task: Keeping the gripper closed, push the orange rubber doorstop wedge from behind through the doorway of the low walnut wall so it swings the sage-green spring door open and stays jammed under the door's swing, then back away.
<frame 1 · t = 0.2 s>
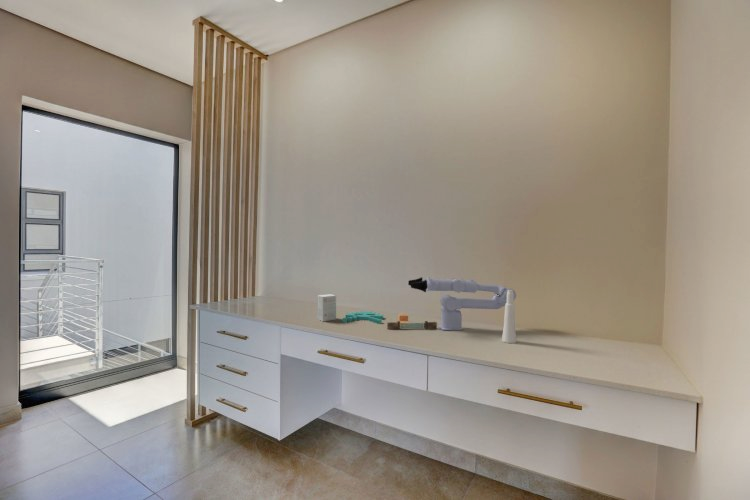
hand: (409, 284, 169), 22 cm above the table, tool horizontal, fingers open, 7 cm apart
doorstop wedge: (403, 324, 178), on the table
door frame: (413, 328, 169), on the table
cosmetic bottle: (508, 341, 151), on the table
alien figure: (364, 319, 190), on the table
door: (412, 325, 169), point 2 cm above the table, hinge at 0.0°
small box: (326, 320, 186), on the table
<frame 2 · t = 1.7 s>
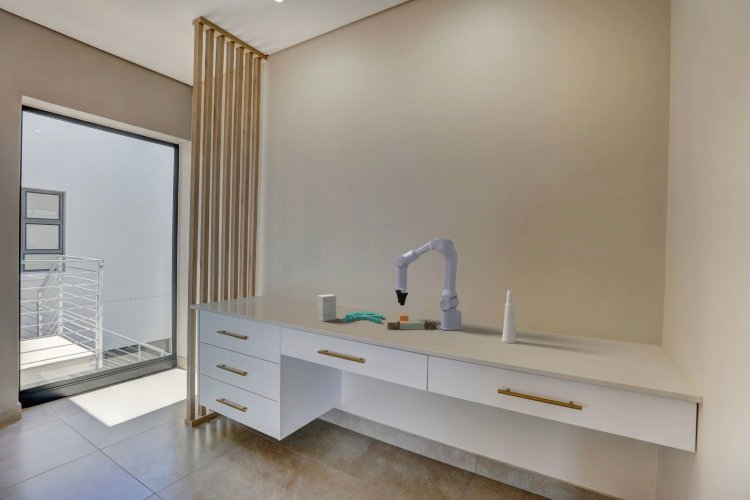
hand: (401, 304, 187), 8 cm above the table, tool pointing down, fingers open, 6 cm apart
nothing on the table moved.
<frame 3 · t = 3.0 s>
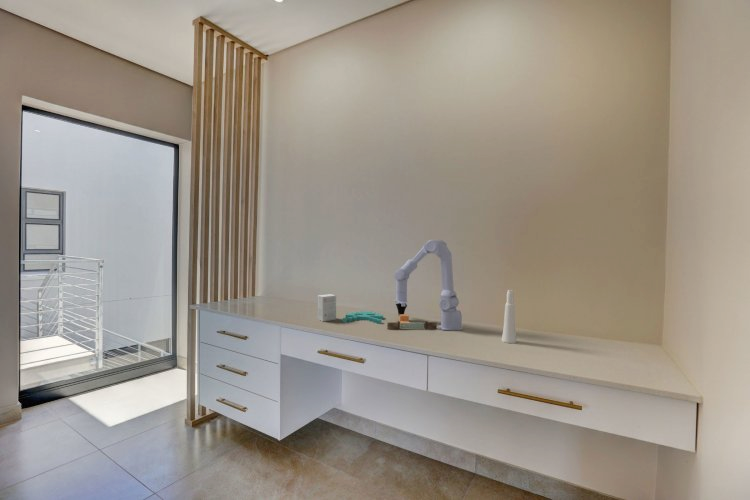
hand: (401, 317, 187), 1 cm above the table, tool pointing down, fingers closed
nothing on the table moved.
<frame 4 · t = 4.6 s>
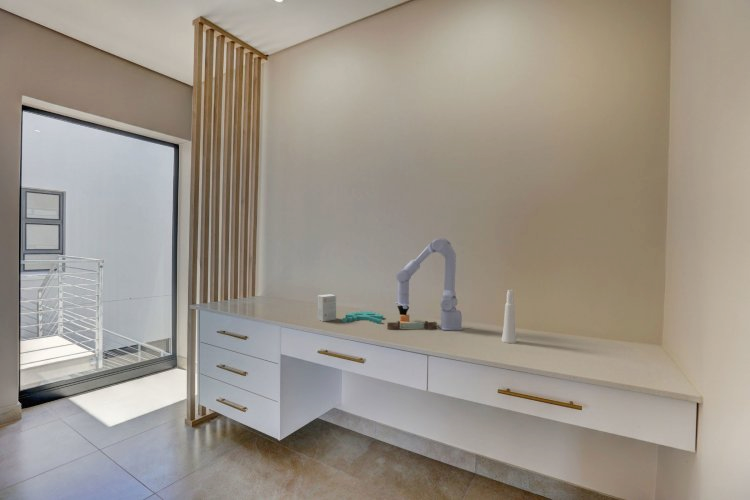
hand: (402, 319, 181), 1 cm above the table, tool pointing down, fingers closed
doorstop wedge: (404, 325, 176), on the table, touching gripper
everything else where it was.
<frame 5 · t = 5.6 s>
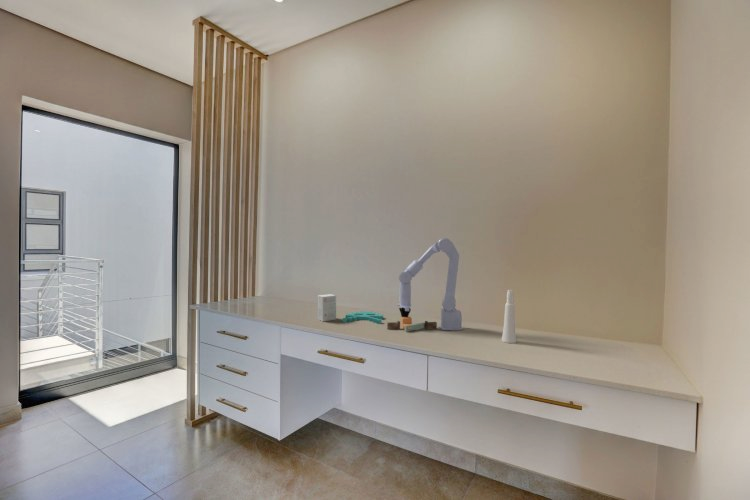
hand: (404, 322, 176), 1 cm above the table, tool pointing down, fingers closed
doorstop wedge: (407, 327, 171), on the table, touching door, gripper
door: (415, 327, 166), point 2 cm above the table, hinge at 28.4°, touching doorstop wedge
everything else where it was.
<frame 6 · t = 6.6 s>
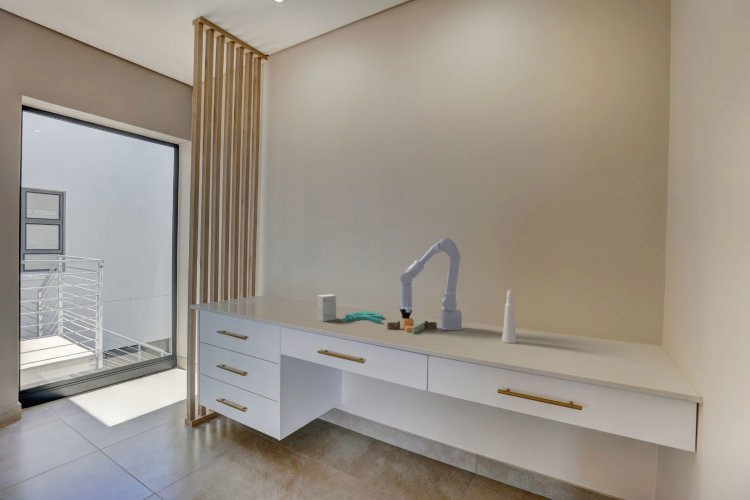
hand: (405, 324, 173), 1 cm above the table, tool pointing down, fingers closed
doorstop wedge: (409, 329, 167), on the table, touching door, gripper
door: (419, 327, 165), point 2 cm above the table, hinge at 50.3°, touching doorstop wedge
everything else where it was.
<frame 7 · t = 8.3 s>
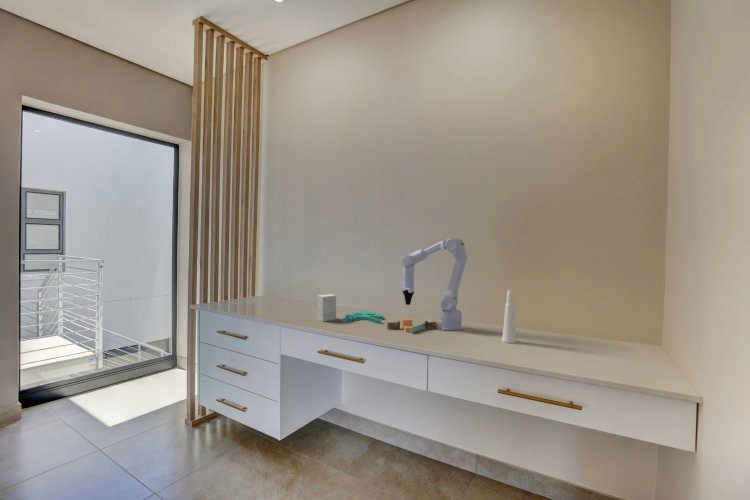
hand: (407, 304, 181), 9 cm above the table, tool pointing down, fingers closed
doorstop wedge: (408, 329, 168), on the table, touching door
door: (418, 327, 165), point 2 cm above the table, hinge at 46.8°, touching doorstop wedge
everything else where it was.
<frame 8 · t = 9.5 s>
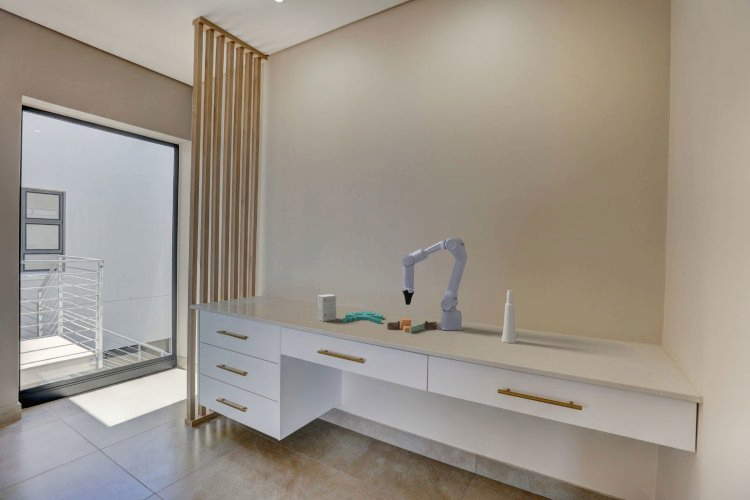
hand: (407, 304, 181), 9 cm above the table, tool pointing down, fingers closed
door: (418, 327, 165), point 2 cm above the table, hinge at 43.3°, touching doorstop wedge
everything else where it was.
at the end: door at +43° (first picture: +0°); doorstop wedge touching door, table; doorstop wedge 0.2 cm from the target spot, on the table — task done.
